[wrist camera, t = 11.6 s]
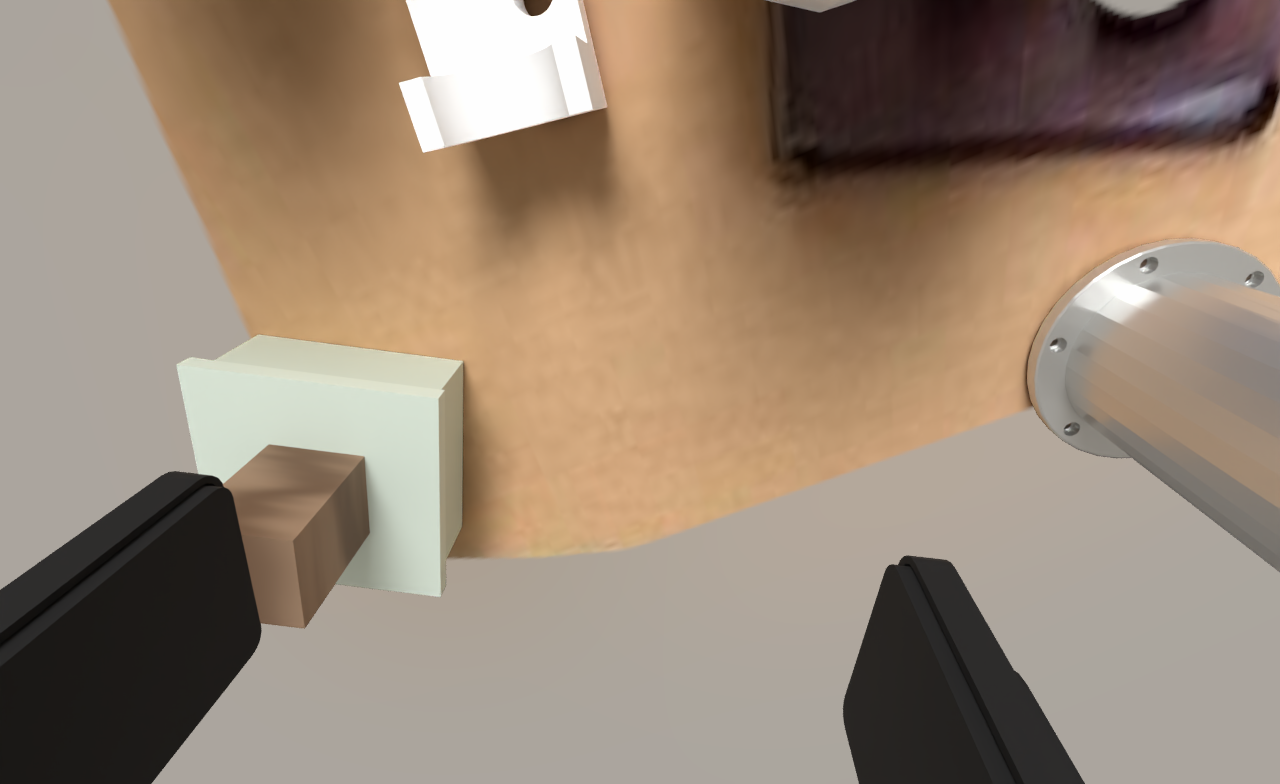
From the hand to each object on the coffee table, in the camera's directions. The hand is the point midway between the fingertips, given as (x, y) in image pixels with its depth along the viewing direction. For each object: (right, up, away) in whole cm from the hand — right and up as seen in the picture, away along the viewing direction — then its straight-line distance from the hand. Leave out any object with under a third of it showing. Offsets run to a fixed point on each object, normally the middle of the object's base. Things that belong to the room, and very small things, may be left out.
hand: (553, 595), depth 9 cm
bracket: (-5, +22, +20) cm, 31 cm away
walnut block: (-16, -2, +25) cm, 30 cm away
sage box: (-16, 0, +30) cm, 34 cm away
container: (+9, +27, +17) cm, 34 cm away
